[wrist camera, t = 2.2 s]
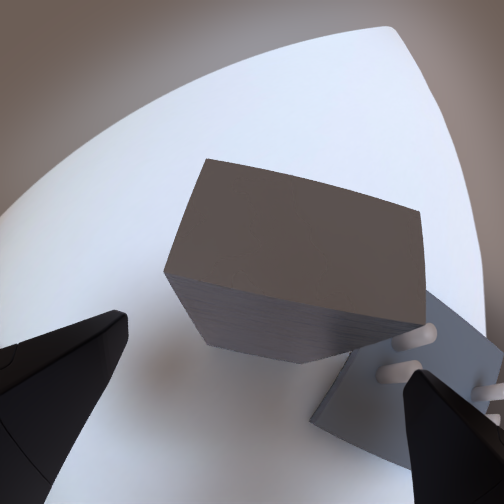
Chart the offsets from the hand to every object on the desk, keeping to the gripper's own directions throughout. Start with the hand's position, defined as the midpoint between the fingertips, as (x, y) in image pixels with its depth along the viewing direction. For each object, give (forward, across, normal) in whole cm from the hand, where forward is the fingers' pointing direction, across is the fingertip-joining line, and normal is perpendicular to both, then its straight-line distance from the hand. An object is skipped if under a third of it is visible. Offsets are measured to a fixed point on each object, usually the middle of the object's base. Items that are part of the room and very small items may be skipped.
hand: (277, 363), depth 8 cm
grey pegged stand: (+7, -13, +7) cm, 16 cm away
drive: (+9, 0, +5) cm, 10 cm away
